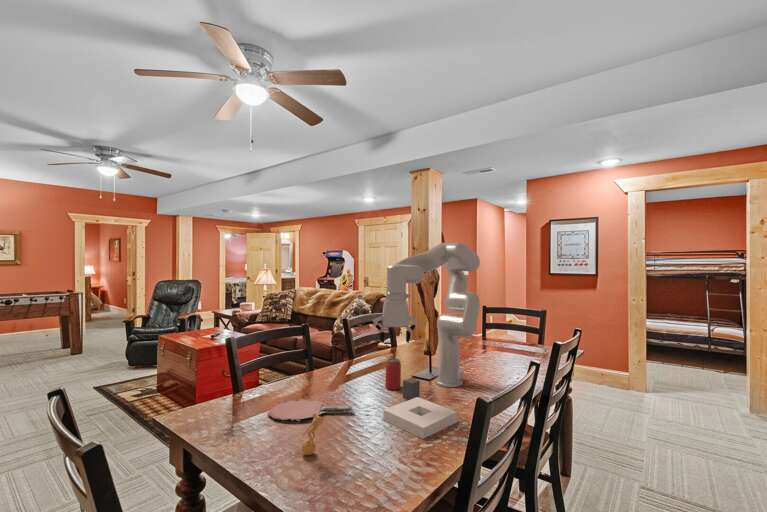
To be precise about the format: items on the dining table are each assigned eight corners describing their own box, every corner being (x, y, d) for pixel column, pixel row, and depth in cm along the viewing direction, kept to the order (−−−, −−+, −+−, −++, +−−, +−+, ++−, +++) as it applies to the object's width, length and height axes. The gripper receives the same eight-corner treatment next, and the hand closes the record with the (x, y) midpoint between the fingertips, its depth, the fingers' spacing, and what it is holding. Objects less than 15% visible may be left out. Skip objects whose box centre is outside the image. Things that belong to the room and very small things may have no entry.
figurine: (312, 445, 108) (313, 405, 108) (328, 451, 105) (329, 409, 105) (293, 459, 100) (294, 415, 100) (310, 465, 97) (311, 420, 98)
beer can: (399, 391, 154) (399, 362, 154) (383, 389, 155) (384, 361, 155) (401, 386, 160) (402, 358, 161) (386, 384, 162) (387, 357, 162)
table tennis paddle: (287, 400, 142) (287, 393, 142) (356, 411, 133) (356, 403, 133) (259, 419, 125) (259, 411, 125) (336, 433, 117) (336, 423, 117)
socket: (417, 406, 139) (417, 396, 139) (456, 422, 126) (457, 412, 126) (383, 419, 126) (383, 409, 126) (423, 439, 113) (423, 427, 113)
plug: (410, 397, 147) (410, 377, 147) (419, 401, 144) (419, 380, 144) (402, 400, 144) (403, 380, 144) (411, 404, 140) (411, 383, 140)
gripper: (416, 296, 144) (415, 339, 144) (372, 296, 142) (371, 339, 142) (420, 298, 137) (419, 344, 137) (374, 298, 135) (373, 344, 134)
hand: (395, 342), depth 139 cm, fingers open, 9 cm apart
